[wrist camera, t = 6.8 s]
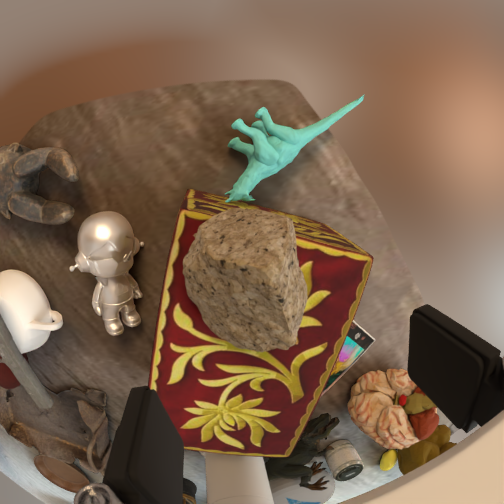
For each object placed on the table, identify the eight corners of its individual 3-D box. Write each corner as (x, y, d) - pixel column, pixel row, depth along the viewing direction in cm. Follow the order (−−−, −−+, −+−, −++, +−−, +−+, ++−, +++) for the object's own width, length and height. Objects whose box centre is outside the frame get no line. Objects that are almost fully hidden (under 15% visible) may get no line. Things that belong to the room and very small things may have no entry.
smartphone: (375, 340, 44) (312, 404, 45) (373, 338, 45) (311, 402, 46) (350, 317, 42) (282, 388, 43) (348, 315, 43) (281, 385, 44)
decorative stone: (310, 458, 49) (317, 476, 45) (344, 482, 54) (351, 496, 49) (238, 493, 50) (240, 509, 45) (281, 513, 54) (285, 527, 50)
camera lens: (352, 449, 51) (366, 474, 43) (325, 461, 50) (336, 487, 43) (349, 434, 49) (364, 460, 42) (320, 446, 49) (333, 474, 41)
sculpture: (-27, 142, 29) (-52, 138, 22) (99, 154, 34) (80, 146, 27) (-37, 204, 30) (-62, 207, 24) (85, 229, 36) (64, 236, 29)
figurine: (100, 353, 31) (71, 231, 25) (77, 325, 35) (52, 217, 29) (167, 318, 38) (157, 208, 33) (137, 297, 43) (126, 198, 37)
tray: (114, 461, 44) (106, 497, 34) (0, 414, 39) (-19, 441, 29) (114, 394, 41) (99, 435, 31) (-17, 340, 35) (-46, 366, 26)
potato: (20, 403, 32) (16, 371, 37) (38, 375, 33) (33, 343, 38) (-17, 389, 27) (-18, 356, 31) (-2, 359, 27) (-3, 325, 32)
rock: (177, 216, 22) (144, 228, 15) (287, 199, 22) (311, 201, 15) (202, 337, 24) (186, 394, 16) (303, 322, 24) (326, 375, 16)
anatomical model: (389, 420, 30) (321, 436, 41) (456, 446, 31) (391, 460, 41) (400, 333, 40) (341, 366, 51) (460, 373, 41) (402, 398, 51)
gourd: (434, 462, 50) (411, 499, 41) (401, 431, 59) (374, 466, 50) (472, 437, 43) (454, 478, 34) (436, 403, 51) (413, 441, 42)
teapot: (-8, 332, 36) (-38, 359, 26) (-22, 263, 33) (-60, 280, 23) (83, 346, 38) (58, 384, 28) (71, 266, 36) (35, 290, 26)
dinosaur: (188, 153, 28) (239, 209, 29) (341, 57, 33) (382, 96, 33) (190, 173, 34) (233, 221, 34) (327, 80, 39) (363, 116, 39)
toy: (375, 461, 40) (333, 425, 39) (254, 520, 43) (202, 492, 41) (362, 433, 49) (322, 395, 48) (254, 492, 52) (207, 462, 50)
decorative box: (270, 394, 44) (292, 464, 30) (152, 375, 41) (135, 447, 26) (327, 224, 39) (387, 246, 25) (187, 187, 36) (172, 188, 21)
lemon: (375, 464, 55) (376, 475, 51) (385, 444, 53) (386, 456, 50) (390, 463, 54) (392, 474, 51) (401, 444, 53) (403, 455, 49)
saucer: (34, 464, 43) (31, 471, 40) (40, 438, 41) (36, 446, 39) (86, 492, 46) (84, 500, 44) (100, 471, 45) (97, 480, 42)
